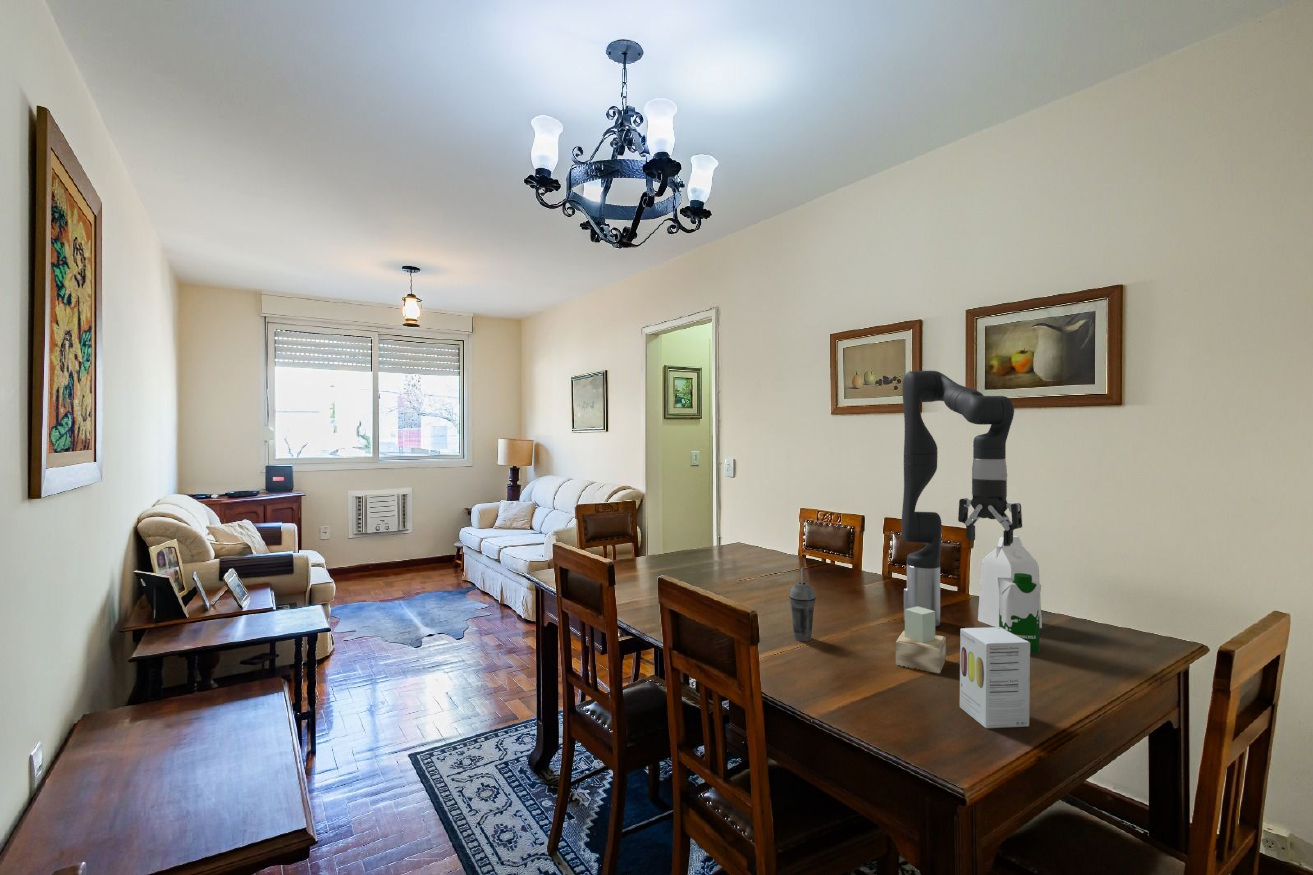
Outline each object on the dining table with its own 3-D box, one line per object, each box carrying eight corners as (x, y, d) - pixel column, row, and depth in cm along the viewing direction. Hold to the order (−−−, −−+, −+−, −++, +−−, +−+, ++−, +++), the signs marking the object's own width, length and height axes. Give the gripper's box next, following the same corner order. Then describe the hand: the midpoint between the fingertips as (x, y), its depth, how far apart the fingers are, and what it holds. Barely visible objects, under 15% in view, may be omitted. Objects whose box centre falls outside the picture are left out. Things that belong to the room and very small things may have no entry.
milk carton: (1009, 654, 159) (1009, 576, 159) (993, 641, 168) (993, 568, 168) (1045, 655, 158) (1045, 577, 158) (1027, 642, 167) (1027, 569, 167)
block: (904, 637, 155) (904, 609, 155) (917, 633, 157) (917, 606, 157) (922, 643, 150) (922, 614, 150) (935, 639, 153) (935, 611, 153)
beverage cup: (818, 636, 173) (818, 565, 173) (813, 644, 167) (813, 571, 166) (792, 633, 176) (792, 563, 176) (786, 641, 170) (786, 568, 169)
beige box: (895, 666, 152) (895, 640, 152) (903, 653, 161) (903, 629, 161) (939, 674, 147) (939, 648, 147) (945, 661, 155) (945, 636, 155)
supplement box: (958, 707, 129) (958, 627, 129) (999, 705, 130) (1000, 625, 130) (986, 729, 120) (986, 643, 119) (1031, 727, 120) (1031, 641, 120)
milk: (1008, 616, 191) (1008, 532, 190) (1041, 627, 180) (1042, 539, 179) (977, 620, 187) (977, 535, 186) (1010, 632, 176) (1010, 541, 175)
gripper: (952, 476, 155) (952, 540, 155) (1012, 479, 143) (1012, 549, 143) (968, 474, 159) (968, 537, 159) (1027, 478, 148) (1027, 545, 148)
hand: (989, 543), depth 151 cm, fingers open, 8 cm apart
